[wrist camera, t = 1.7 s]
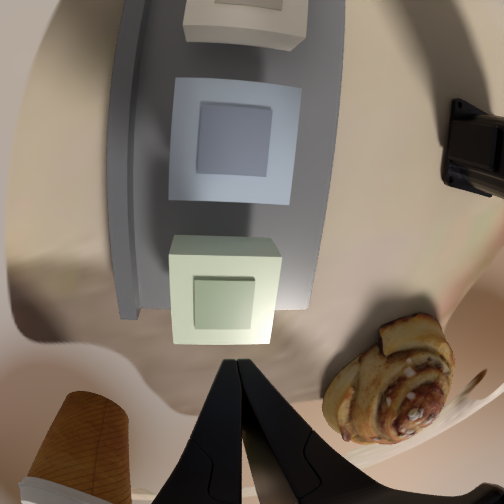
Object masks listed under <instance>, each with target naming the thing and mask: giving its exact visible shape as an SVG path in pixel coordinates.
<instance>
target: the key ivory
mask: <svg viewBox="0 0 504 504" xmlns="http://www.w3.org/2000/svg"><path fill="white" fill-rule="evenodd" d="M307 16H308V0H187V2H186V8H185V13H184V19H183V29H184V33H185V38H186V42H209V43H226V44H238V45H248V46H257V47H265V48H272V49H279V50H285V51H291V50H292V49H293V48H295V47H296V46H297V45H298V44H299V43H300V42H302V41H303V40H304V39H305V38H306V31H307Z"/></svg>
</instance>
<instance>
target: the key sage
mask: <svg viewBox="0 0 504 504" xmlns="http://www.w3.org/2000/svg"><path fill="white" fill-rule="evenodd" d="M281 263H282V256H281V254H280V252H279V250H278V249H277V247H276V245H275V244H274V242H273V240H272V238H266V237H236V236H202V235H174V238H173V241H172V245H171V248H170V252H169V278H170V299H171V315H172V329H173V342H174V344H201V345H233V344H269V343H270V337H271V330H272V324H273V317H274V311H275V304H276V298H277V291H278V284H279V277H280V270H281Z"/></svg>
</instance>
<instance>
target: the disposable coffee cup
mask: <svg viewBox="0 0 504 504" xmlns="http://www.w3.org/2000/svg"><path fill="white" fill-rule="evenodd" d="M128 420H129V419H128V416H127V415H126V413H125V411H124V410H123V409H122V408H121V407H120V406H118V405H117V404H116V403H114V402H113V401H111V400H109V399H107V398H105V397H103V396H101V395H98V394H95V393H91V392H85V391H76V392H72V393H69V394H68V395H67V397H66V399H65V401H64V402H63V405H62V407H61V408H60V410H59V412H58V414H57V416H56V417H55V419H54V421H53V423H52V425H51V427H50V429H49V431H48V433H47V435H46V437H45V439H44V441H43V443H42V445H41V447H40V449H39V451H38V453H37V456H36V457H35V460H34V462H33V464H32V466H31V469H30V471H29V473H28V475H27V477H25V478H23V481H22V482H19V484H18V487H19V488H20V489H21V502H22V503H23V504H132V499H131V485H130V473H129V444H128V441H129V440H128V423H129V421H128Z"/></svg>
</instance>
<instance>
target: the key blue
mask: <svg viewBox="0 0 504 504" xmlns="http://www.w3.org/2000/svg"><path fill="white" fill-rule="evenodd" d="M301 92H302V88H297V87H291V86H284V85H277V84H269V83H261V82H252V81H242V80H230V79H214V78H176V79H175V89H174V100H173V112H172V126H171V142H170V162H169V198H168V200H189V201H220V202H243V203H262V204H279V205H289V203H290V195H291V186H292V178H293V169H294V160H295V151H296V142H297V133H298V123H299V113H300V103H301Z"/></svg>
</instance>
